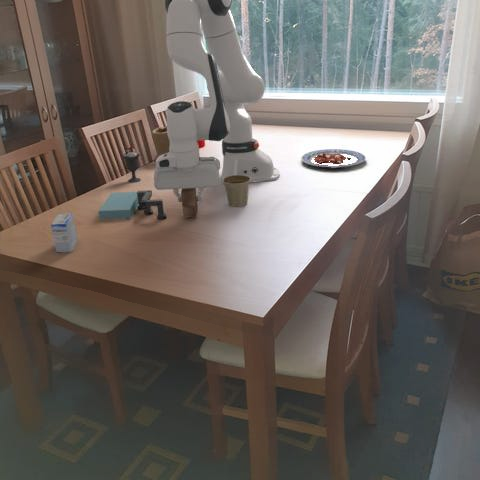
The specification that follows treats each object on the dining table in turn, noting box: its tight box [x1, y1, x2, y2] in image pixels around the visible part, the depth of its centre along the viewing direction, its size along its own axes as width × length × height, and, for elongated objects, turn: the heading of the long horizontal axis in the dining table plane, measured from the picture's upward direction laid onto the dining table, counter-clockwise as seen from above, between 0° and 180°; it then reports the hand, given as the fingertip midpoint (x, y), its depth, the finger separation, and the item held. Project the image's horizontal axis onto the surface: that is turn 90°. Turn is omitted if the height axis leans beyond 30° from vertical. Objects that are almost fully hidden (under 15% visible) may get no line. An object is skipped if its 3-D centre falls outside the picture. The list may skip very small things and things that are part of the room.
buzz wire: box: [136, 189, 167, 221], centre depth 165 cm, size 11×12×6 cm
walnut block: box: [180, 188, 199, 218], centre depth 160 cm, size 4×6×8 cm, turn 179°
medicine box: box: [50, 213, 79, 253], centre depth 144 cm, size 8×4×9 cm, turn 5°
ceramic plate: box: [300, 148, 367, 168], centre depth 209 cm, size 26×26×3 cm
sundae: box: [121, 142, 142, 183], centre depth 196 cm, size 7×7×15 cm
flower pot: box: [221, 175, 251, 208], centre depth 169 cm, size 9×9×9 cm
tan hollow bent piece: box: [151, 125, 170, 162], centre depth 219 cm, size 15×12×15 cm
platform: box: [97, 191, 139, 221], centre depth 171 cm, size 10×17×3 cm, turn 179°
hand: (189, 201), depth 160 cm, fingers closed on walnut block, 4 cm apart
